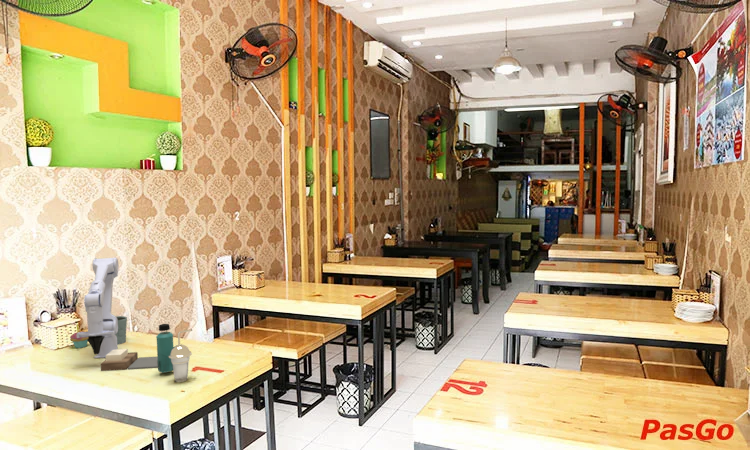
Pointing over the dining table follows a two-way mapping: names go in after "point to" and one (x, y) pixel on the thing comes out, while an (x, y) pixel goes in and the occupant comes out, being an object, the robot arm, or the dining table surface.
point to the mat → (144, 363)
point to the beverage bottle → (164, 348)
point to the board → (120, 363)
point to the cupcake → (79, 340)
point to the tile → (117, 355)
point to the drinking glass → (121, 329)
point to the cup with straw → (180, 360)
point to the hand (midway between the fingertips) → (96, 353)
